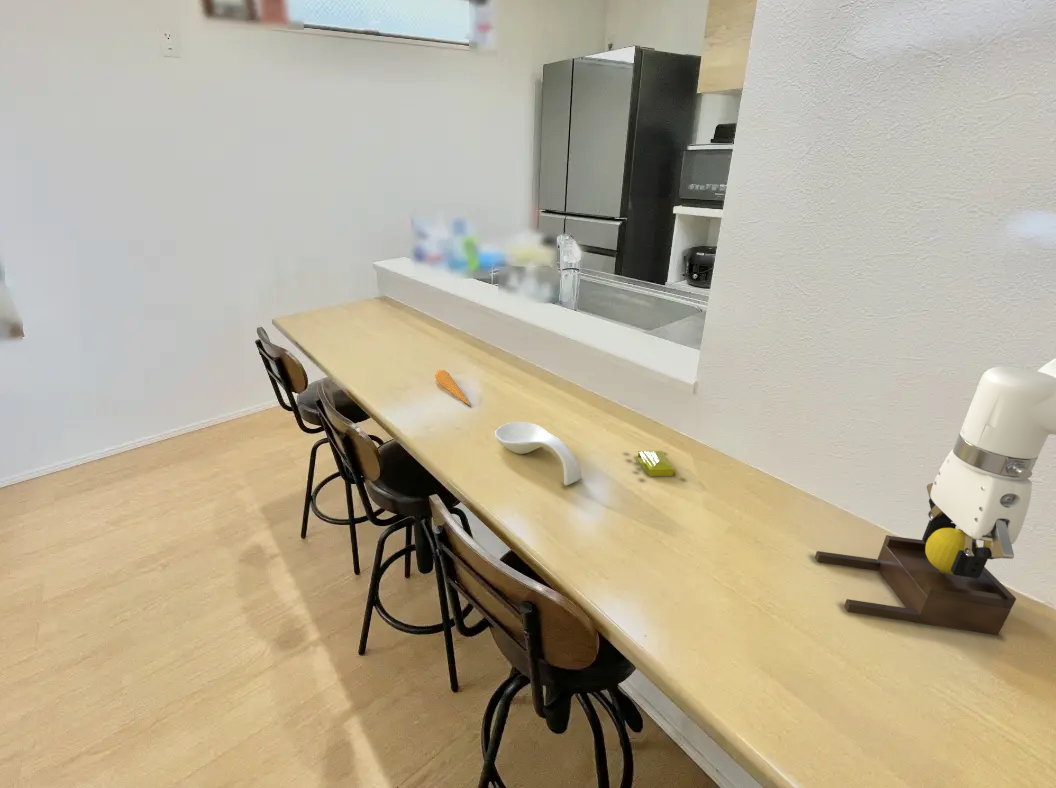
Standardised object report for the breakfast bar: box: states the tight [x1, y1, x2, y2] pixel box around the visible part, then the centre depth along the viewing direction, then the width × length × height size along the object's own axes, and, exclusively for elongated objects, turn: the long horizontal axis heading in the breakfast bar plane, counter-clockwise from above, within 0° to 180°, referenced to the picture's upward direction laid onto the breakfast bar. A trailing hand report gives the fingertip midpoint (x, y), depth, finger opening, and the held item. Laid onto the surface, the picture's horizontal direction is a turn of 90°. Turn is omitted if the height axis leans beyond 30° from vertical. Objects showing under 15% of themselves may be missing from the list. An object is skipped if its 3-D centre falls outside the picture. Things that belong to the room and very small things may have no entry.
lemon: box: [925, 528, 979, 575], centre depth 73 cm, size 6×6×8 cm
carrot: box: [434, 368, 471, 406], centre depth 145 cm, size 20×4×4 cm, turn 28°
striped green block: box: [629, 450, 680, 477], centre depth 109 cm, size 10×9×3 cm
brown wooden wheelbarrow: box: [814, 535, 1017, 636], centre depth 76 cm, size 19×11×7 cm, turn 77°
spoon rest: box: [494, 421, 582, 486], centre depth 112 cm, size 24×12×7 cm, turn 34°
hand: (949, 557), depth 74 cm, fingers closed on lemon, 5 cm apart
